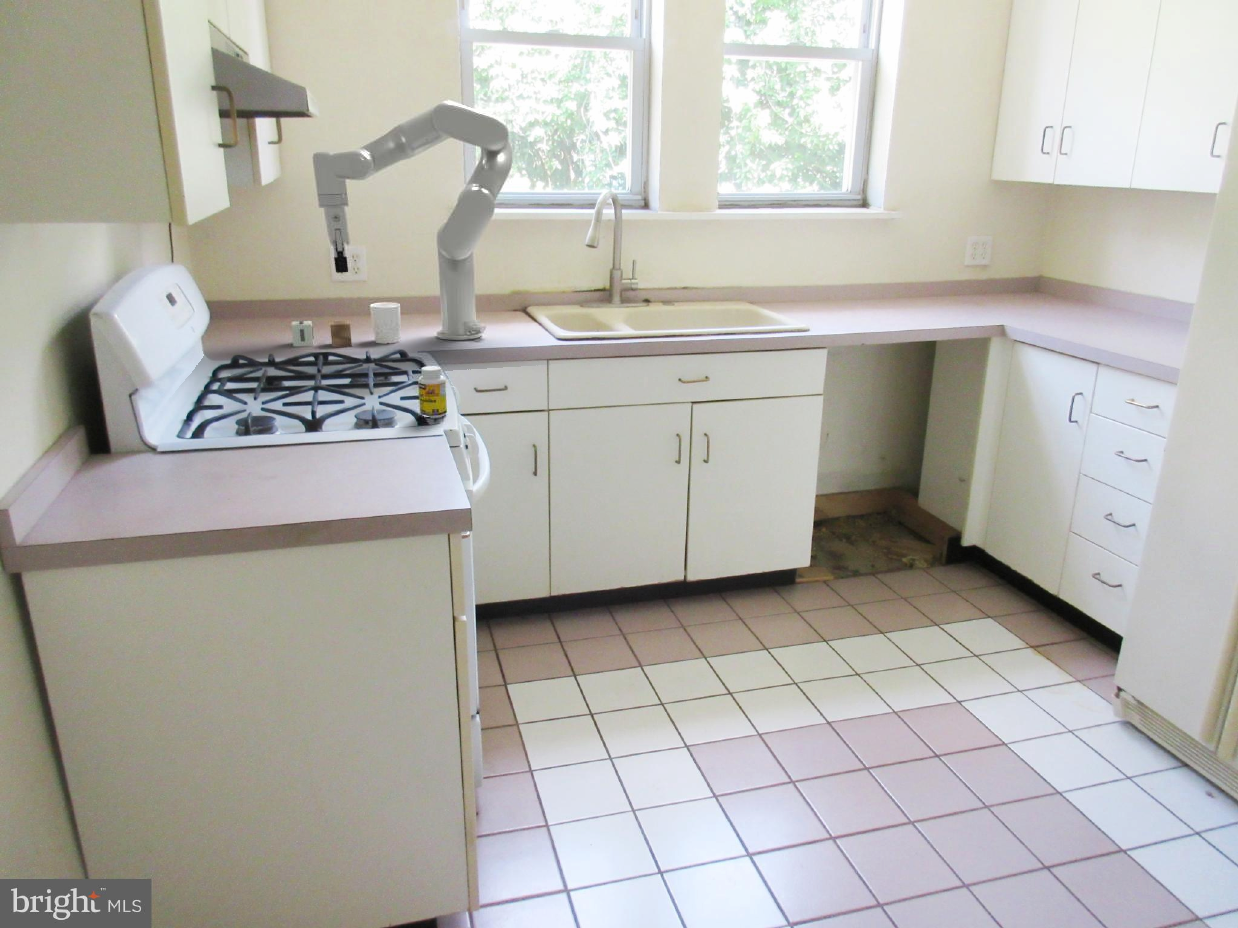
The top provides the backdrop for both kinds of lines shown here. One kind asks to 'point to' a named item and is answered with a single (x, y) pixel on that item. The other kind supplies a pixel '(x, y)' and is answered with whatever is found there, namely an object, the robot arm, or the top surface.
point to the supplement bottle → (432, 392)
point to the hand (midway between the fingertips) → (342, 272)
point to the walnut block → (340, 333)
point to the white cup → (386, 322)
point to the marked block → (302, 333)
